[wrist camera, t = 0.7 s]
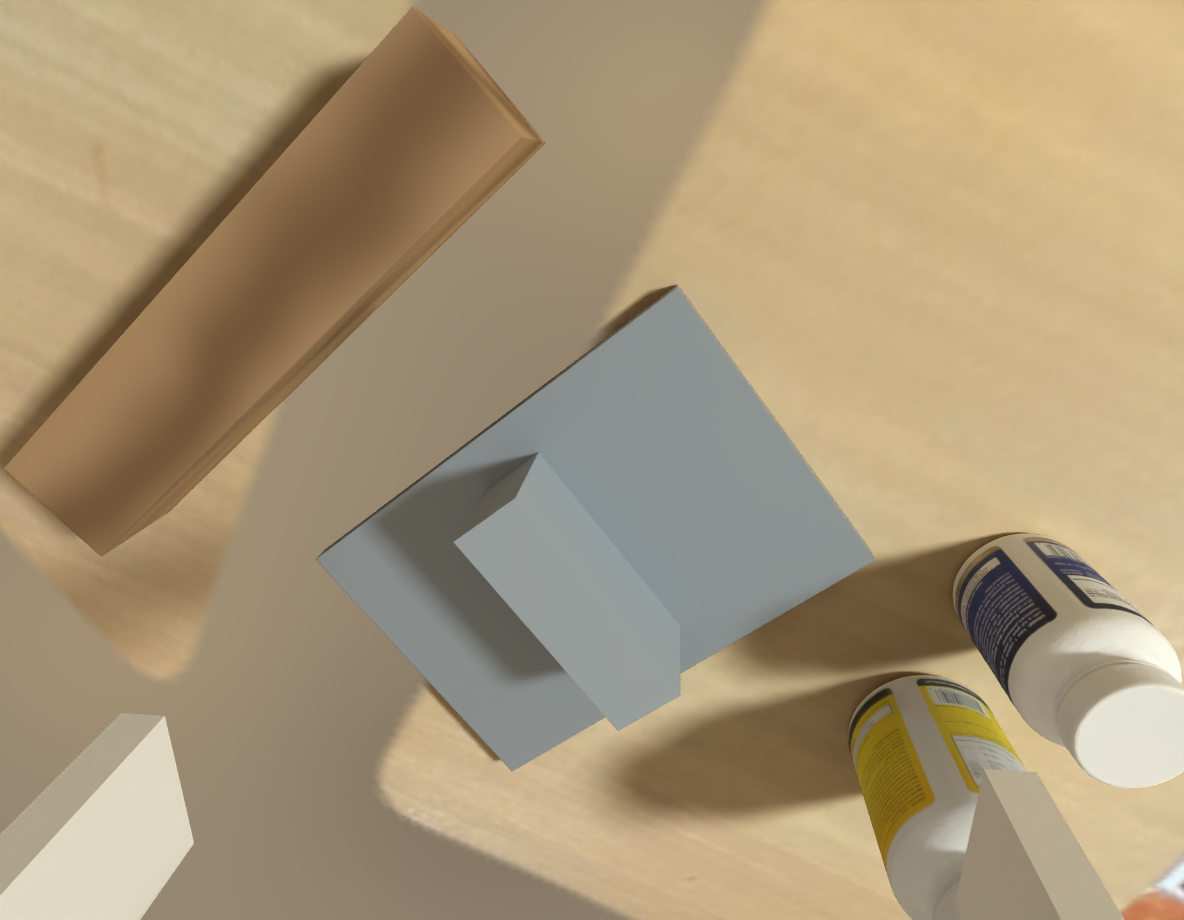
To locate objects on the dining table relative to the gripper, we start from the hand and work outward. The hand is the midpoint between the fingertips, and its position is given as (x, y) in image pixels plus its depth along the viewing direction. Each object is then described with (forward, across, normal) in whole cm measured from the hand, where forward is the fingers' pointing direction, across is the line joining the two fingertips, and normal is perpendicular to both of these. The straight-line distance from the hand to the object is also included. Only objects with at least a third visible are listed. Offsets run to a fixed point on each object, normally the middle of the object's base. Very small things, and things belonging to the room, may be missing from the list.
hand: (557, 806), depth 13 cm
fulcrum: (+22, -2, -6) cm, 23 cm away
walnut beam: (+22, -14, +4) cm, 27 cm away
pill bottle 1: (+22, +14, -15) cm, 29 cm away
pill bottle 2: (+22, +17, -7) cm, 28 cm away
